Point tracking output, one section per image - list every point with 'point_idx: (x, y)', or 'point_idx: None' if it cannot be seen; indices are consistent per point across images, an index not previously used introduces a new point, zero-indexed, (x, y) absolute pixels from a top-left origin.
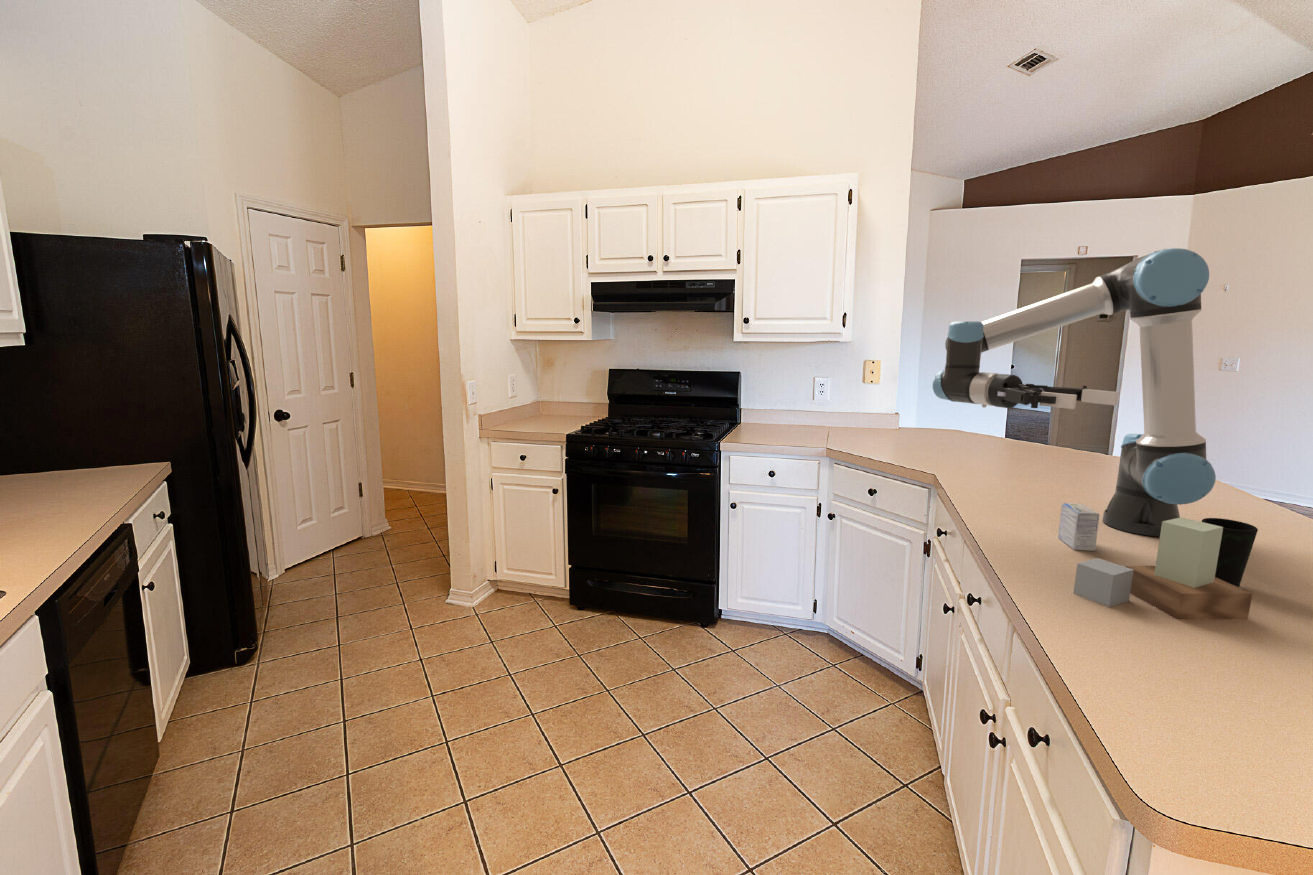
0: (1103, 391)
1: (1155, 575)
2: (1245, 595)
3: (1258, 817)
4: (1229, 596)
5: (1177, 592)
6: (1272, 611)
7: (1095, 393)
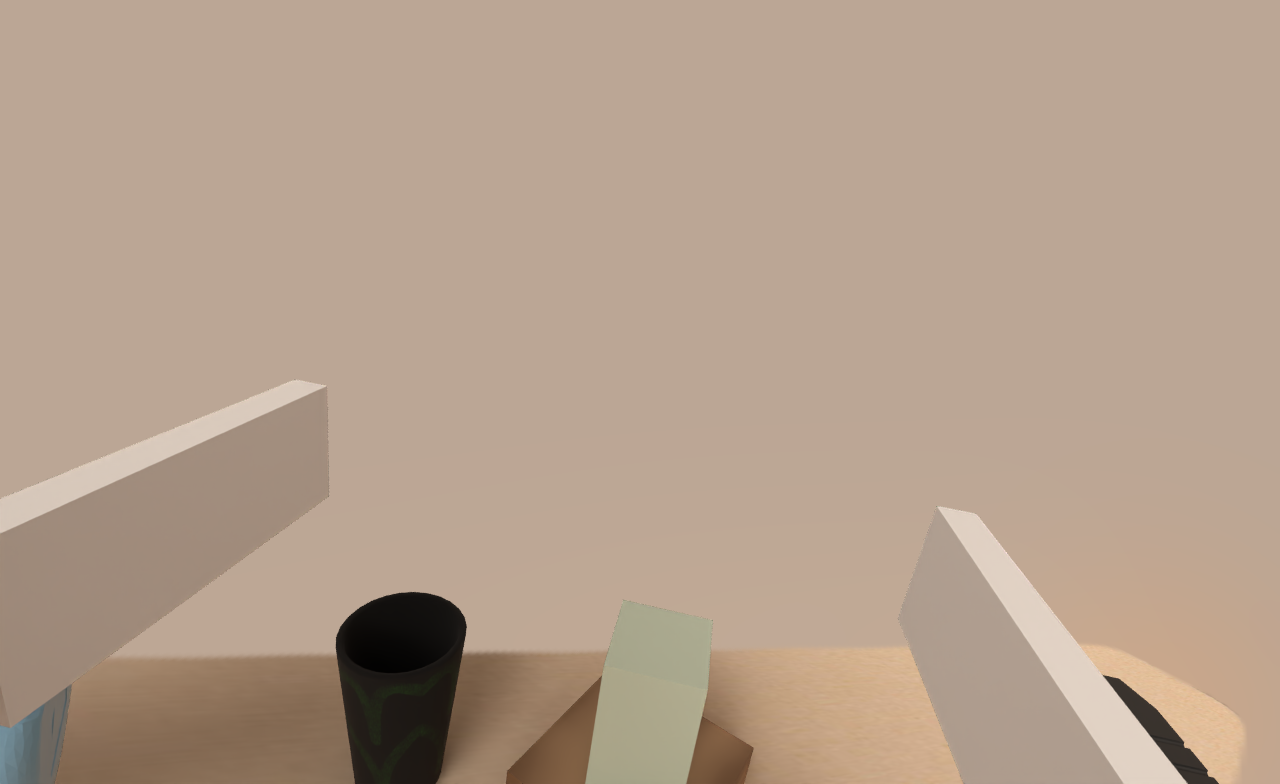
0: (238, 429)
1: None
2: None
3: (1124, 664)
4: None
5: (749, 756)
6: (520, 683)
7: (170, 494)
